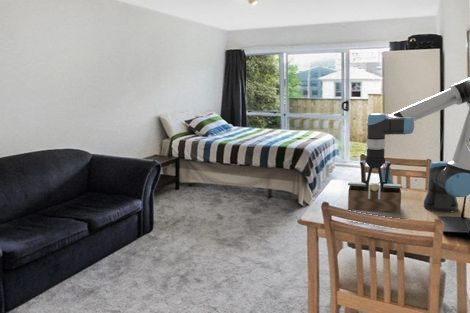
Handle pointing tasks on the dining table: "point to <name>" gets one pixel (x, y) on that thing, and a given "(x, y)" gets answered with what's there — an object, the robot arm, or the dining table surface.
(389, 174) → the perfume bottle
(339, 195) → the dining table surface
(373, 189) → the box lid
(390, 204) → the storage box
